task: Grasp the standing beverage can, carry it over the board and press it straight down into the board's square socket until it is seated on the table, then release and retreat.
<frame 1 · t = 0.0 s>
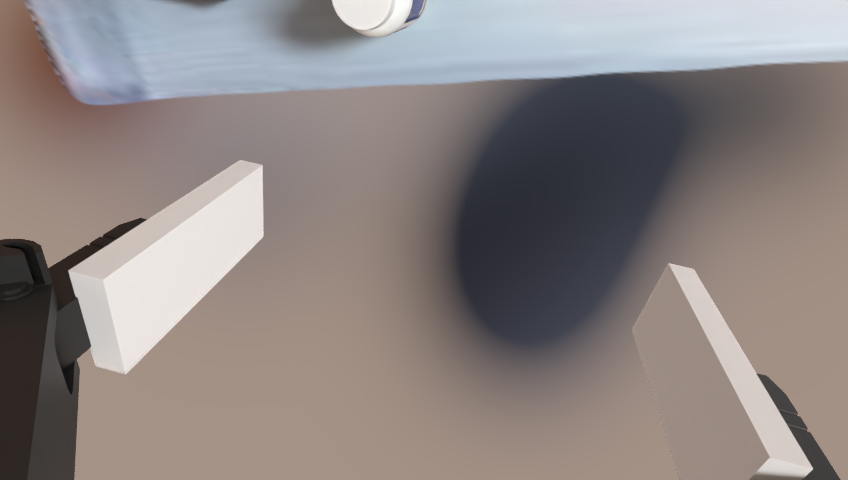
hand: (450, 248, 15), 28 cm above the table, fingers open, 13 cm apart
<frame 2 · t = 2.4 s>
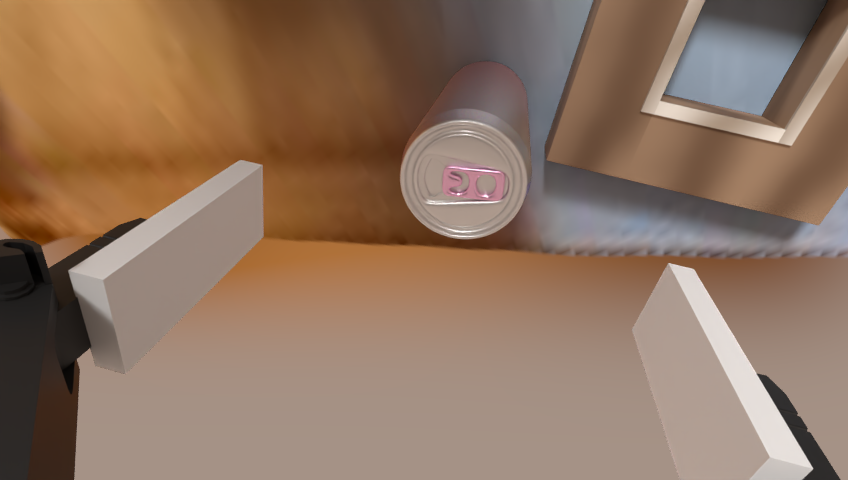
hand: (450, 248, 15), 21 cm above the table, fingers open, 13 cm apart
board: (734, 42, 28), on the table
beverage can: (484, 103, 33), on the table
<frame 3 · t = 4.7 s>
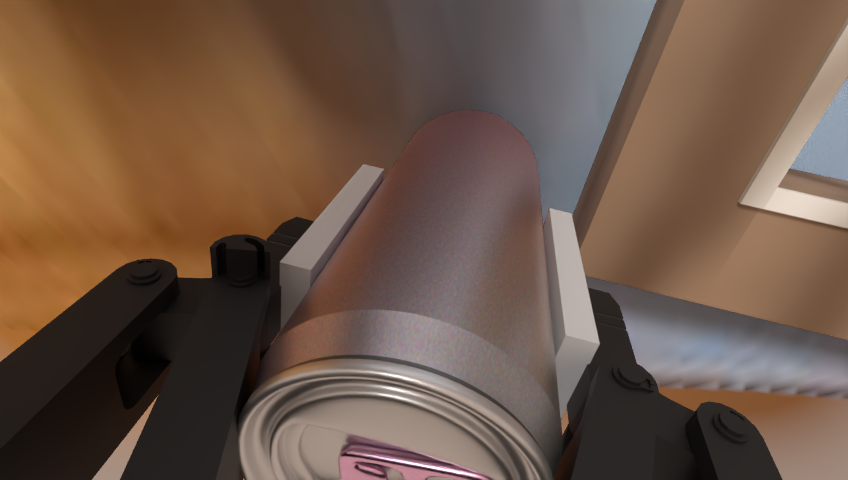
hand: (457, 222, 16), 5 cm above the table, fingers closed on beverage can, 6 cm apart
beverage can: (469, 171, 21), on the table, touching gripper
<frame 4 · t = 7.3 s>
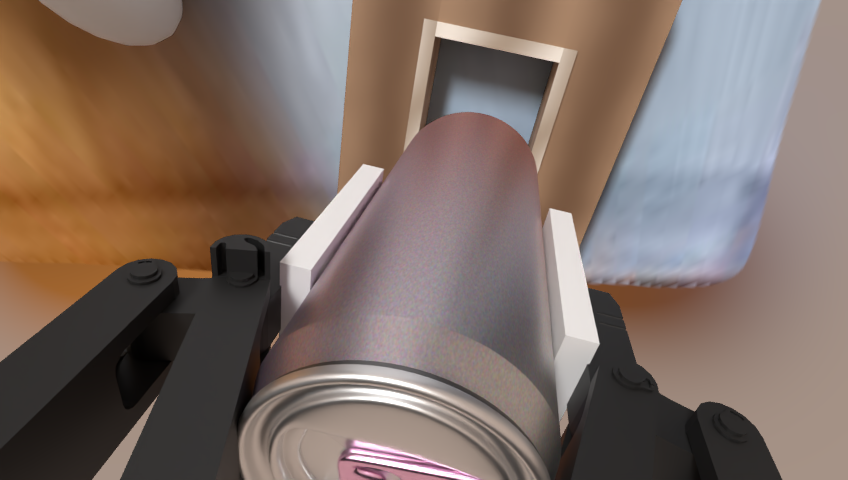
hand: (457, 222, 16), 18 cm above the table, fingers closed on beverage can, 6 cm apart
board: (484, 100, 32), on the table
beverage can: (469, 173, 21), point 13 cm above the table, touching gripper
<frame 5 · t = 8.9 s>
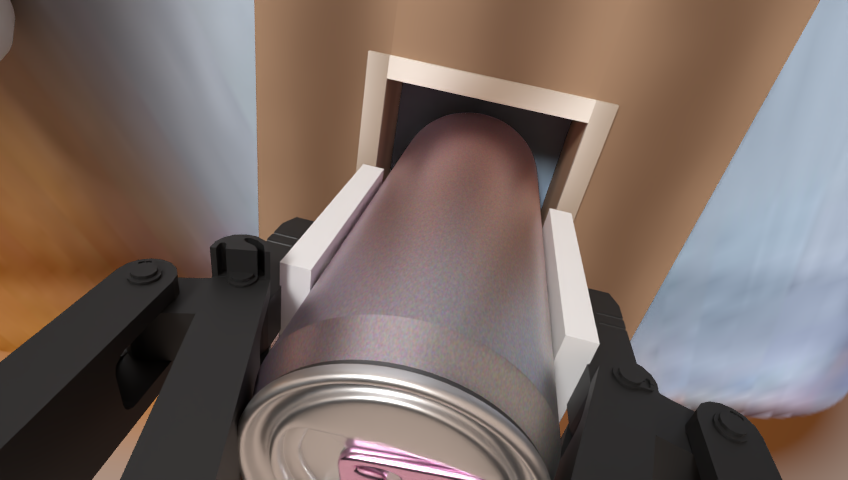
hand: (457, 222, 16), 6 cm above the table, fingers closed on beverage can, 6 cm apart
board: (470, 164, 21), on the table
beverage can: (469, 173, 21), point 1 cm above the table, touching gripper
when the fingers open (5 cm above the table, at t = 10.0 s): beverage can stays where it is, resting in board.
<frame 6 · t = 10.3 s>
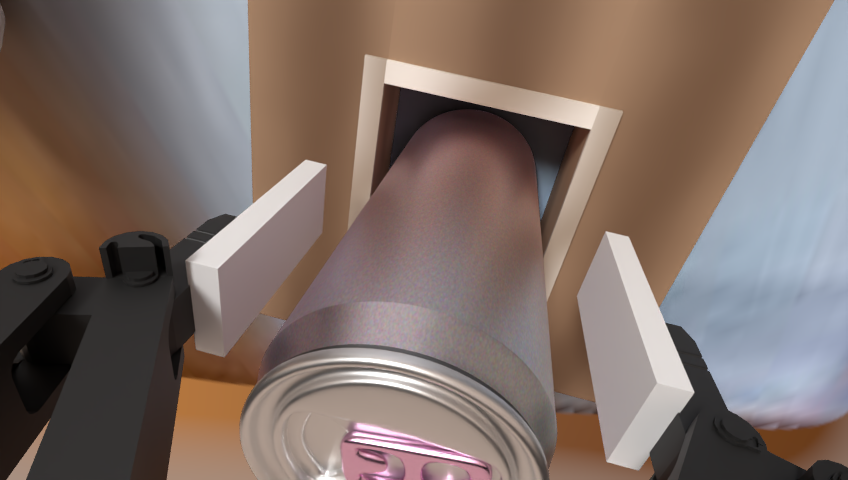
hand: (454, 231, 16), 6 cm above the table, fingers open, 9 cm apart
board: (470, 170, 21), on the table
beverage can: (468, 169, 21), resting in board
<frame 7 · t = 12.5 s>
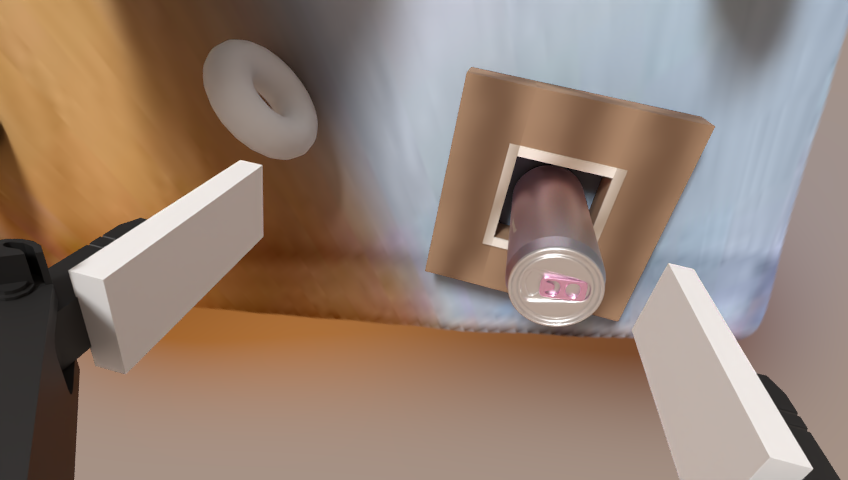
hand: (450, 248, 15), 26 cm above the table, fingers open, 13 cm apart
board: (548, 195, 40), on the table
beverage can: (547, 194, 40), resting in board
donut: (294, 89, 41), on the table
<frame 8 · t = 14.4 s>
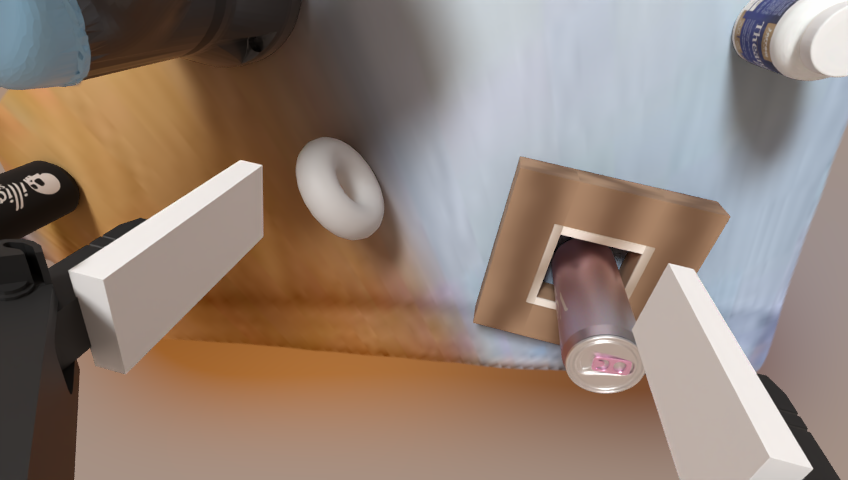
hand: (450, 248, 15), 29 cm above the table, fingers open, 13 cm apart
board: (582, 259, 46), on the table
beverage can: (581, 258, 46), resting in board
donut: (359, 168, 46), on the table
beverage can 2: (59, 184, 54), on the table
pill bottle: (769, 25, 34), on the table
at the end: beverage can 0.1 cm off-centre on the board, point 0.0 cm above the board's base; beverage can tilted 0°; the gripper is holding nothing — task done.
